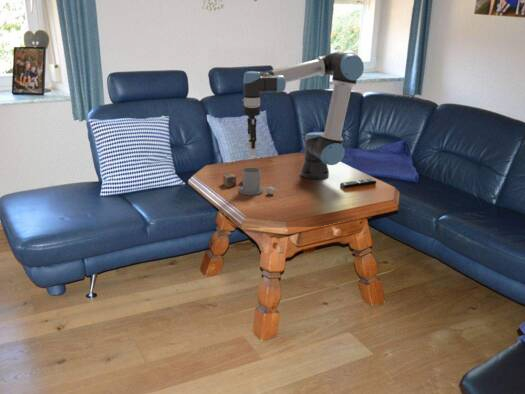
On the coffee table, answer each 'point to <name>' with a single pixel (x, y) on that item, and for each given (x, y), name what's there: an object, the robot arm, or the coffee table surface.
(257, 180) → the cup
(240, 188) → the coaster
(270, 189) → the grey ball
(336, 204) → the coffee table surface
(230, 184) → the walnut block
